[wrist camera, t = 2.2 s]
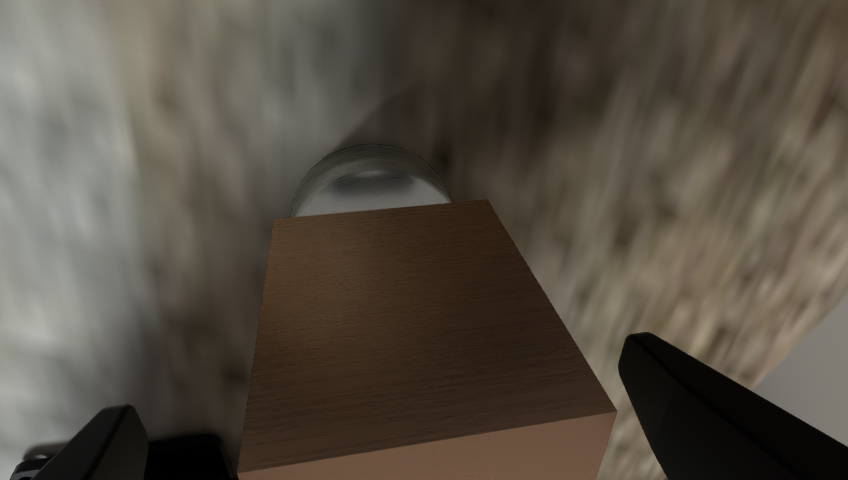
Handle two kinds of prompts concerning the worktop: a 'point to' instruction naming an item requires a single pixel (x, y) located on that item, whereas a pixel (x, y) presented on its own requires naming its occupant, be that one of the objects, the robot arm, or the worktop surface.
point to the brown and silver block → (410, 341)
